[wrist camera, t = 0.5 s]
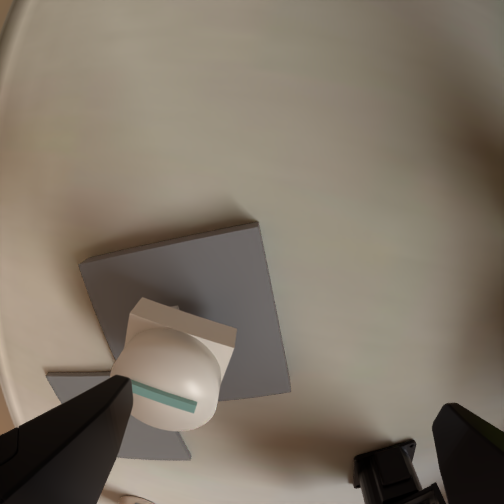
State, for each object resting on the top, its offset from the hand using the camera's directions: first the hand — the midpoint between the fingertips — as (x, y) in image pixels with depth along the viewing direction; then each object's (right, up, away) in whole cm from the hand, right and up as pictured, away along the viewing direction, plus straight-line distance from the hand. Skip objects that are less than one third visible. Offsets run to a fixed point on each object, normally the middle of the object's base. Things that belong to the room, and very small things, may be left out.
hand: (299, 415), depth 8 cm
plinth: (-5, -1, +14) cm, 15 cm away
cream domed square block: (-6, -2, +11) cm, 12 cm away
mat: (-13, -11, +17) cm, 25 cm away
